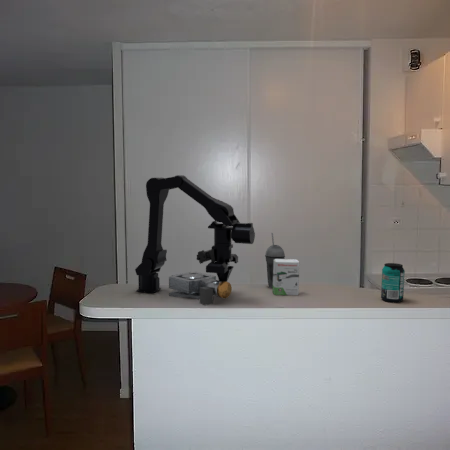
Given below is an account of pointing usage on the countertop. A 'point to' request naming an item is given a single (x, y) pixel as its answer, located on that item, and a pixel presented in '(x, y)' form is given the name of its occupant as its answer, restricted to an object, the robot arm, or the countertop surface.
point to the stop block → (206, 295)
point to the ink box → (286, 277)
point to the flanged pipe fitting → (200, 284)
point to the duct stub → (187, 295)
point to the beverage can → (392, 282)
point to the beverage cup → (272, 254)
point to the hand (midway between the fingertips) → (222, 288)
